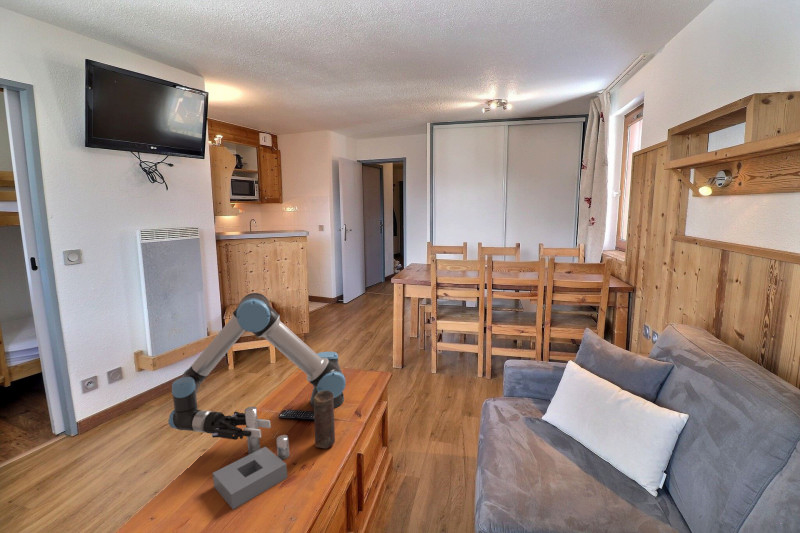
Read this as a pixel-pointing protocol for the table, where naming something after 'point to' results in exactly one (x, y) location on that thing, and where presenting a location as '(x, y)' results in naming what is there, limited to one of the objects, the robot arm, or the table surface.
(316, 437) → the brown textured cylinder
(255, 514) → the table surface
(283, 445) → the short pin
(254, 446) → the long pin
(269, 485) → the guide block
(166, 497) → the table surface
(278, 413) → the table surface
